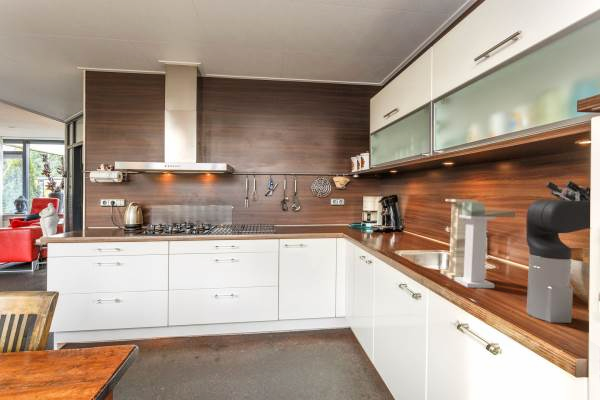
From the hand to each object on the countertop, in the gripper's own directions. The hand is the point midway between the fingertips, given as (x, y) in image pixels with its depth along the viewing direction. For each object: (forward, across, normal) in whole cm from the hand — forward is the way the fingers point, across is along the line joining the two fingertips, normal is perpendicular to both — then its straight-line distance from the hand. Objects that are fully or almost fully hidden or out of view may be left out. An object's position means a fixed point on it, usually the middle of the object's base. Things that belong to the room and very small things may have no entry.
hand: (557, 183), depth 114 cm
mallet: (+14, +4, -23) cm, 27 cm away
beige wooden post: (+4, +15, -47) cm, 50 cm away
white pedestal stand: (+4, +4, -47) cm, 48 cm away
